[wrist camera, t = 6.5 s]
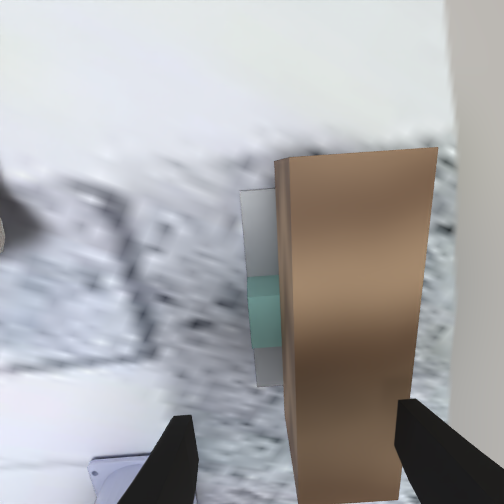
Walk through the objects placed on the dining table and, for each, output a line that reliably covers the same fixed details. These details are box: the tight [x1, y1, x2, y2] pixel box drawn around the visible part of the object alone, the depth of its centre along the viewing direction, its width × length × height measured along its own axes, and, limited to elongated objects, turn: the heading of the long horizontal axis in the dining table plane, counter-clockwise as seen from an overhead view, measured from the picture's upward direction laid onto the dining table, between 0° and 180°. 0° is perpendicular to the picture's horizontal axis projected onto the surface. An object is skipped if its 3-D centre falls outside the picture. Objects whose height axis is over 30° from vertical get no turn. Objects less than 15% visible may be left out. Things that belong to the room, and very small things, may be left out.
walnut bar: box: [274, 147, 438, 504], centre depth 13 cm, size 15×4×5 cm, turn 4°
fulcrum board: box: [240, 188, 283, 387], centre depth 17 cm, size 14×8×4 cm, turn 5°
